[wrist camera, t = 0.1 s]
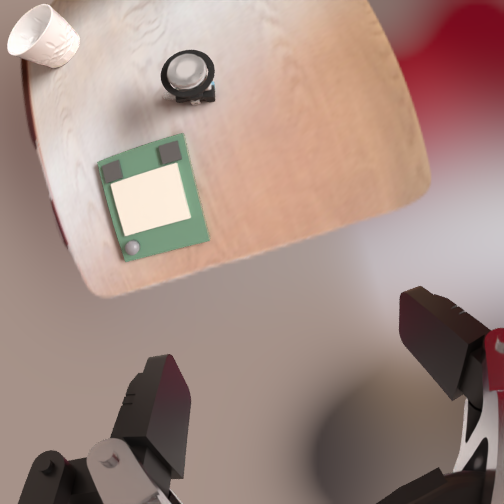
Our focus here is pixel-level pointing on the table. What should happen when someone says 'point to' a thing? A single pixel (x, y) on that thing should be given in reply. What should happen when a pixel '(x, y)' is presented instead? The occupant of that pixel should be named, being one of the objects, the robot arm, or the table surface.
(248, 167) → the table surface
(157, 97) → the table surface
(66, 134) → the table surface
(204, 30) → the table surface
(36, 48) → the white cup
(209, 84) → the push button
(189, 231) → the board
